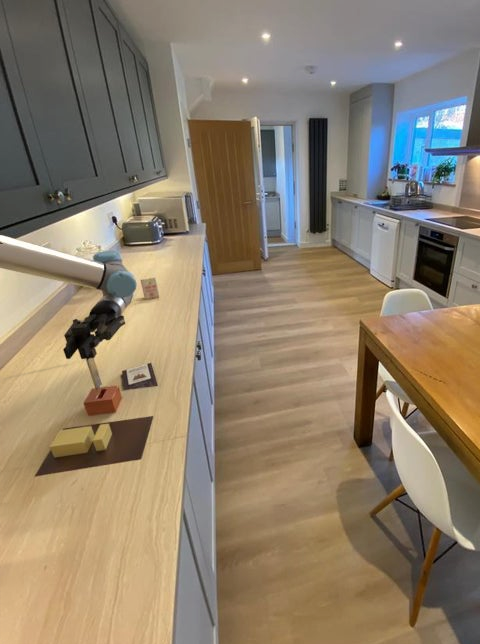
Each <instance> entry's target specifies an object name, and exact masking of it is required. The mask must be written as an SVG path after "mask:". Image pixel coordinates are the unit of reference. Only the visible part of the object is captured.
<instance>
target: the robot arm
mask: <svg viewBox="0 0 480 644" xmlns="http://www.w3.org/2000/svg"><path fill="white" fill-rule="evenodd" d="M0 242H1V243H3V244H0V269H2V270H8V271H12V272H17V273H22V274H26V275H31V276H35V277H39V278H44V279H49V280H53V281H58V282H63V283H67V284H71V285H76V286H81V287H85V288H90V289H95V290H98V291H101V292H102V297H101V298H100V299H99V300H98V301H97V302H96V303H95V305H94V306H93V307H92V308H91V309H90V311H89V314H88V316H86V317H84V318H83V319H81V320H80V319H78V318H75V319H72V324H71V325H70V327H69V328H68V329H67V330H66V332H65V333H64V335H63V336H64V339H65V342H66V343H65V347H64V348H63V349H62V350H63V354H64V356H65V358H66V360H71V358H72V357H73V356H74V355H75V353H76V352H77V350H78V348H77V345H76V342H75V339H74V336H73V333H72V330H71V328H72V327H73V326H74V325H77V324H88V327H89V330H90V333H91V335H90V336H89V338H88V339H87V340H86V341H85V343H84V344H83V345H82V347H81V351H82V354H83V357H87V356H88V355H89V354H90V352H91V351H92V349H93V348H94V347H95V348H96V347H98V346H99V344H100V343H102V342H103V340H105V341H110V340H111V339H112V338H113V337H114V336H115V335H116V333H117V332H118V331H119V330H120V329H121V328H122V327H123V326H124V325H126V320H125V316H124V315H123V313H124V312H125V311H126V309H127V308H128V306H129V305H130V304H131V303H132V301H133V299H134V293H135V292H136V290H137V287H138V285H137V284H138V283H137V279H136V278H135V276H134V274H133V273H132V272H131V271H129V270H128V269H127V267H125V265H124V264H123V259H122V257H121V253H120V252H119V251H117V250H103V251H99V252H96V253H94V254H93V256H92V258H93V259H90V258H87V257H82V256H79V255H76V254H71V253H68V252H65V251H61V250H57V249H54V248H50V247H48V246H47V247H46V246H43V245H39V244H35V243H32V242H28V241H26V240H21V239H18V238H14V237H10V236H7V235H3V234H0Z"/></svg>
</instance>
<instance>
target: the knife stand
mask: <svg viewBox="0 0 480 644" xmlns="http://www.w3.org/2000/svg"><path fill="white" fill-rule="evenodd" d="M122 399H123V396H122V393H121V389H120V386H119V385H110V386H102V387H100V388H99V390H98V391H96V389H95V387H94V388H93V387H91V389H90V391H89V393H88V394H87V396H86V398H85V399H84V401H83V406H84V408H85V411H86V414H87V417H91V416H99V415H106V414H114V413H117V411H118V409H119V406H120V405H121V402H122Z"/></svg>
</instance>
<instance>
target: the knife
mask: <svg viewBox="0 0 480 644" xmlns="http://www.w3.org/2000/svg"><path fill="white" fill-rule="evenodd" d="M71 330H72V333H73V336H74V339H75V342H76V345H77V348H78V349H77V350H78V354H79V356H80V359H81V360H85V361H86V364H87V368H88V371H89V374H90V376H91V380H92V382H93V386H94V388H95V389H96V391H98V390H99V388H100V387H101V386H102V385H103V383H102V379H101V376H100V373H99V369H98V367H97V364H96V361H95V357H96V356H97V354H98V353H97V350H96V347H94V348H93V349H92V351H91V352H90V354H89V355H88V356H87V357H83V354H82V351H81V347H82V345H83V344H84V343H85V341H86V340H87V339H88V338H89V336H90V335H91V334H92V332H91V333H90V330H89V327H88V324H77V325H74V326H73V327H72V328H71Z"/></svg>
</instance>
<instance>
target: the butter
mask: <svg viewBox="0 0 480 644" xmlns="http://www.w3.org/2000/svg"><path fill="white" fill-rule="evenodd" d="M94 437H95V436H94V433H93V430H92V427H91V426H88V427H81V428H74V429H67V430H63V429H60V430H59V431H58V432H57V434H56V436H55V437H54V439H53V440H52V442H51V443H50V445H49V450H51V451H52V454H53V456H54V458H55V457H62V456H68V455H75V454H81V453H87V452H88V450H89V448H90V446H91V443H92V441H93V439H94Z"/></svg>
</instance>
